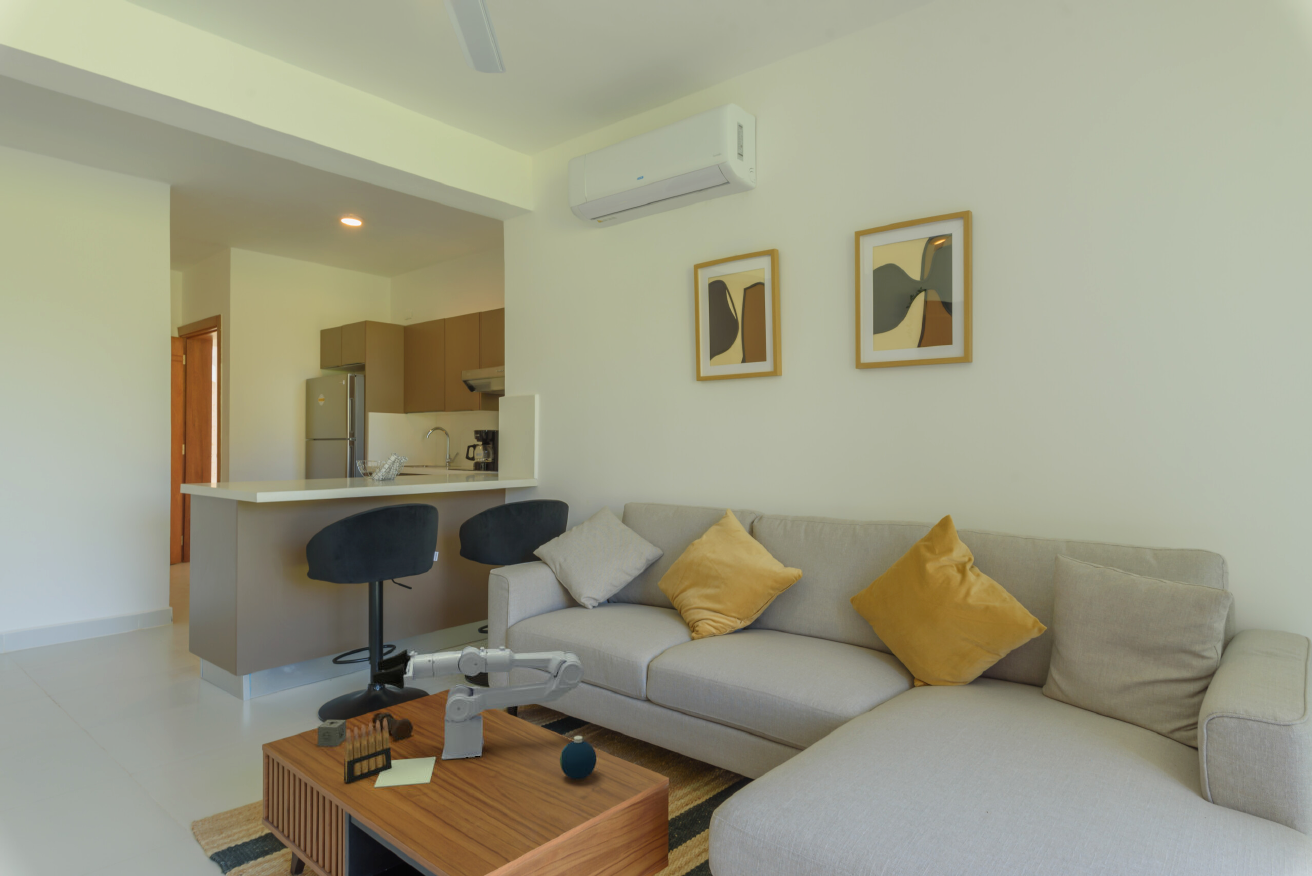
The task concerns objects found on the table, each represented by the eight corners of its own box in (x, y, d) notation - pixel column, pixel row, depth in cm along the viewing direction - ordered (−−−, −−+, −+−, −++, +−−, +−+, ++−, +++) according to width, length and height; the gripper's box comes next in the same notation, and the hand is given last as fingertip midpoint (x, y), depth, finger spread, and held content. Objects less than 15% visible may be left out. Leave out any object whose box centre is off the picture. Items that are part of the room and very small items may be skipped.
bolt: (379, 731, 203) (406, 744, 193) (364, 726, 200) (390, 739, 190) (389, 710, 206) (416, 721, 195) (374, 705, 203) (400, 716, 192)
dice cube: (346, 739, 193) (346, 720, 193) (336, 746, 188) (336, 727, 188) (327, 738, 193) (327, 719, 193) (317, 746, 188) (317, 726, 188)
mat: (435, 757, 181) (435, 756, 181) (429, 782, 167) (429, 782, 167) (384, 761, 179) (384, 760, 179) (374, 787, 165) (374, 786, 165)
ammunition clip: (347, 784, 167) (345, 731, 167) (343, 781, 168) (342, 729, 168) (392, 768, 175) (390, 717, 175) (388, 766, 176) (387, 715, 176)
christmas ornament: (571, 767, 175) (571, 725, 175) (602, 773, 172) (602, 730, 172) (553, 782, 168) (553, 738, 168) (585, 788, 164) (585, 743, 164)
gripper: (434, 639, 190) (379, 645, 187) (430, 661, 176) (370, 668, 173) (436, 665, 190) (380, 671, 187) (432, 689, 176) (372, 696, 173)
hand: (375, 671), depth 180 cm, fingers open, 7 cm apart
